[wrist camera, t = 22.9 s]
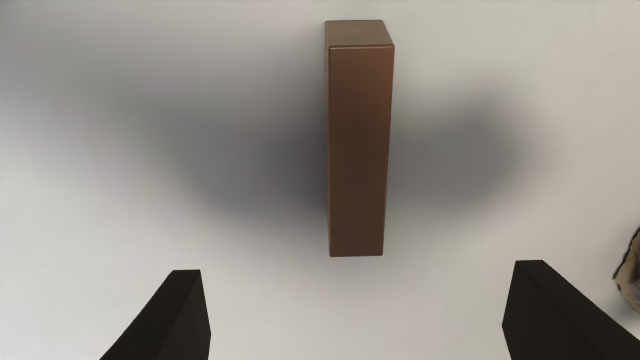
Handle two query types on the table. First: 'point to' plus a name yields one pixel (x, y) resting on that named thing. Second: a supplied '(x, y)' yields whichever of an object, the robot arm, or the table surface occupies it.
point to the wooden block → (357, 134)
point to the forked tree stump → (631, 275)
